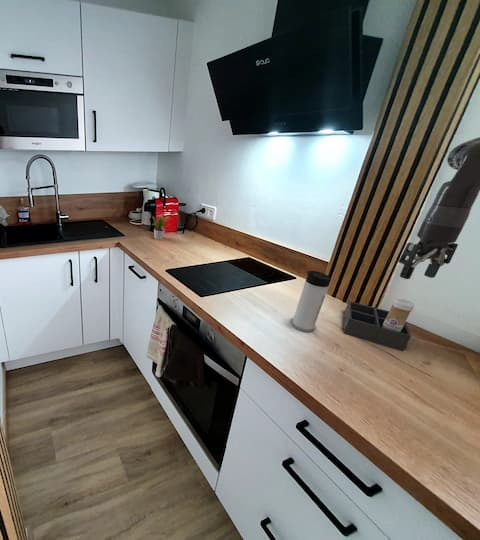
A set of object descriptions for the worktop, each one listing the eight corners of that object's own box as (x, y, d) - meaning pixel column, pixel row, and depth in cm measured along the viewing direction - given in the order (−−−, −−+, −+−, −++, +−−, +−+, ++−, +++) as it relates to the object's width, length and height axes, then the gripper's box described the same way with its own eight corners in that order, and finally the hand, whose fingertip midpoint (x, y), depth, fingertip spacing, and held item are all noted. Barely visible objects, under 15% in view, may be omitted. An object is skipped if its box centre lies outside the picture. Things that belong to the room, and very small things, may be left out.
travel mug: (288, 320, 100) (304, 268, 92) (308, 323, 99) (327, 270, 91) (294, 330, 94) (312, 276, 86) (316, 333, 93) (336, 278, 85)
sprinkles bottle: (377, 338, 90) (394, 301, 85) (377, 332, 94) (394, 296, 88) (396, 344, 88) (415, 307, 82) (395, 338, 91) (414, 301, 85)
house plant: (174, 242, 179) (177, 216, 172) (154, 243, 175) (156, 217, 169) (165, 235, 192) (167, 211, 185) (146, 236, 188) (147, 212, 181)
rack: (396, 328, 97) (403, 314, 95) (403, 351, 86) (411, 336, 84) (343, 314, 105) (348, 300, 103) (343, 333, 94) (349, 318, 92)
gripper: (437, 226, 71) (410, 284, 78) (482, 225, 73) (452, 281, 80) (405, 219, 78) (382, 273, 85) (448, 218, 80) (422, 271, 87)
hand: (416, 277), depth 82 cm, fingers open, 8 cm apart
